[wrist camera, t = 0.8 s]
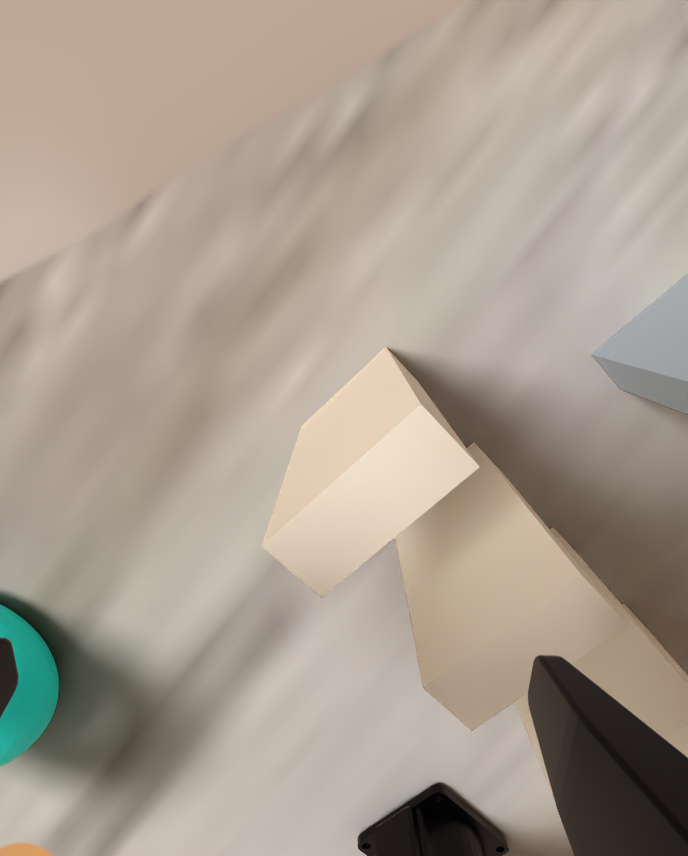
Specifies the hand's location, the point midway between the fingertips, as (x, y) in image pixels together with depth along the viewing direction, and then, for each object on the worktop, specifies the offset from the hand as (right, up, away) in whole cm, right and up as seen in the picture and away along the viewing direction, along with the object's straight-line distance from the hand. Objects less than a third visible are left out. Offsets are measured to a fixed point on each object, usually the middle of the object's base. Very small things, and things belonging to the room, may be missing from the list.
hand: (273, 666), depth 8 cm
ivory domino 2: (+6, +1, +13) cm, 15 cm away
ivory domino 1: (+2, +5, +12) cm, 13 cm away
